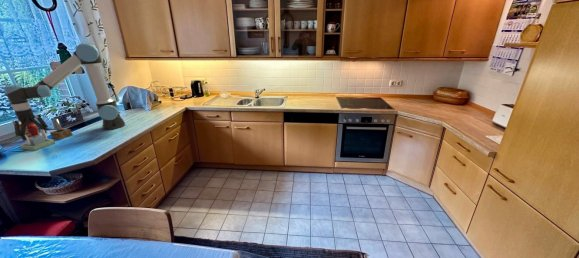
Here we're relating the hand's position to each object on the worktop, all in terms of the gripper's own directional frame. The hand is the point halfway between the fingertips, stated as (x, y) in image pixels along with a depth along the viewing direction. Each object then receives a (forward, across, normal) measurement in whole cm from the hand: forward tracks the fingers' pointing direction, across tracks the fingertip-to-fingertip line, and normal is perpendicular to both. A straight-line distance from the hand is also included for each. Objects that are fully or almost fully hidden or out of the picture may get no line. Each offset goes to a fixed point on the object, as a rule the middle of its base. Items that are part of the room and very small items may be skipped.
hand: (37, 141), depth 161 cm
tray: (+4, 0, -1) cm, 4 cm away
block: (+3, 0, -1) cm, 3 cm away
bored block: (+4, -16, -2) cm, 16 cm away
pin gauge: (+4, -16, -2) cm, 16 cm away
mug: (+4, -9, -18) cm, 20 cm away
